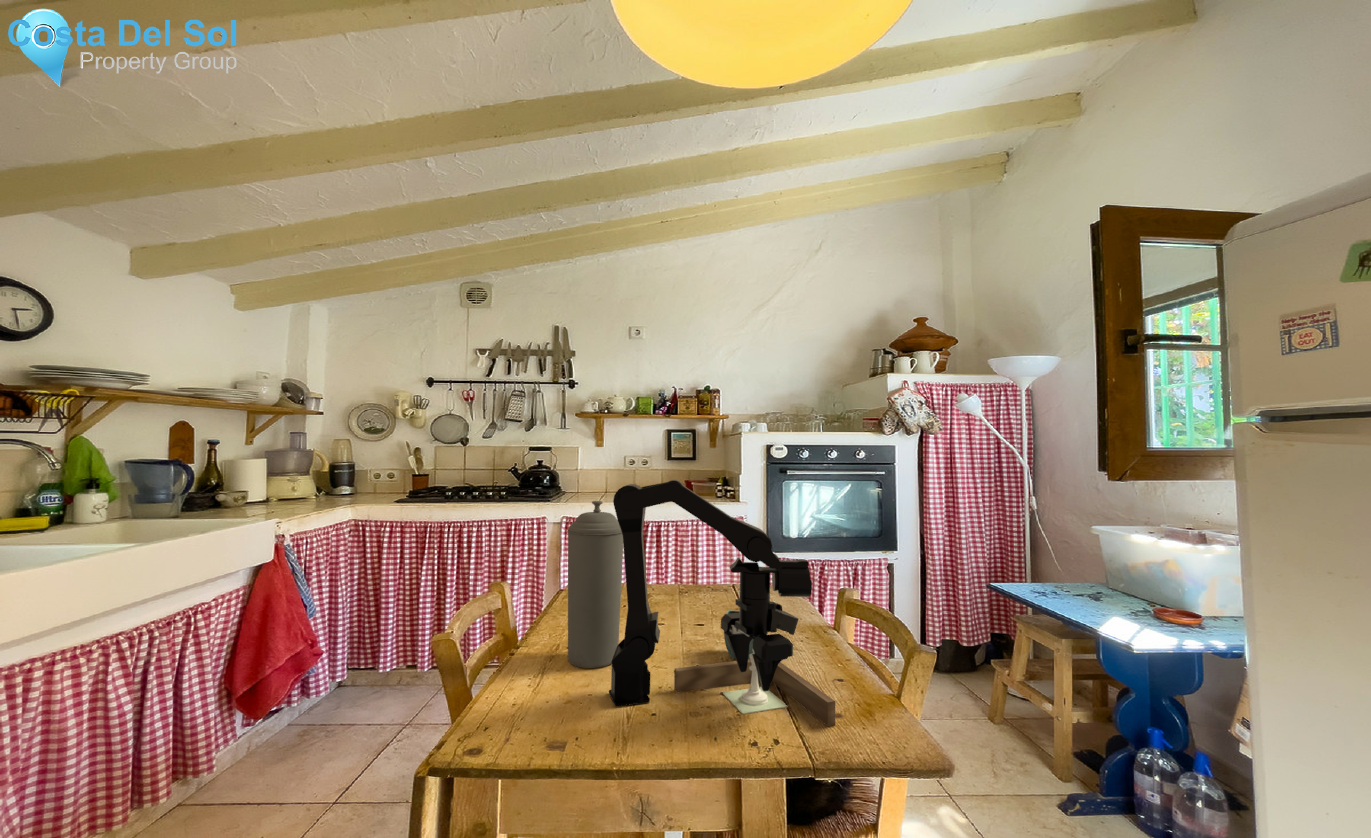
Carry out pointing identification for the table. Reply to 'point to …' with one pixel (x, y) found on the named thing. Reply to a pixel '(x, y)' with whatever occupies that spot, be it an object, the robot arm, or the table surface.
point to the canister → (594, 588)
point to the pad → (748, 708)
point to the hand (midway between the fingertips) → (754, 680)
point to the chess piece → (754, 688)
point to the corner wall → (782, 678)
